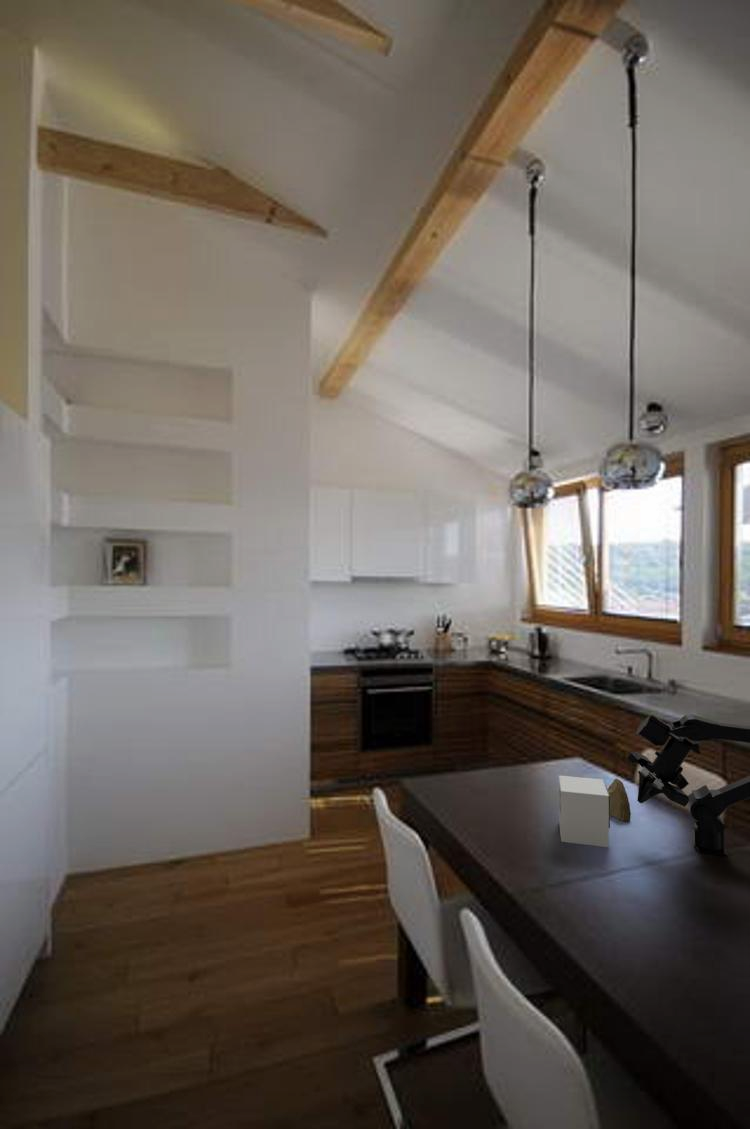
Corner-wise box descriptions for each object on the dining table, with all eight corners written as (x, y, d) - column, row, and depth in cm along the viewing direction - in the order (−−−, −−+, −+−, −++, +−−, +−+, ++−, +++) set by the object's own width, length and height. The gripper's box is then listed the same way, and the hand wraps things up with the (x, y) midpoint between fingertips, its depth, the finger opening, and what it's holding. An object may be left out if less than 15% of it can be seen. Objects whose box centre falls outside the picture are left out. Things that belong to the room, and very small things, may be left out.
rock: (641, 816, 166) (636, 799, 175) (622, 792, 167) (618, 776, 176) (609, 833, 169) (605, 815, 178) (590, 809, 170) (588, 793, 179)
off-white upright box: (605, 827, 163) (604, 779, 164) (611, 847, 151) (611, 796, 151) (559, 822, 167) (558, 775, 167) (561, 841, 154) (561, 791, 155)
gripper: (718, 788, 148) (683, 835, 150) (669, 746, 165) (638, 789, 168) (688, 774, 145) (653, 822, 147) (642, 733, 162) (611, 777, 164)
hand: (639, 802), depth 157 cm, fingers closed
